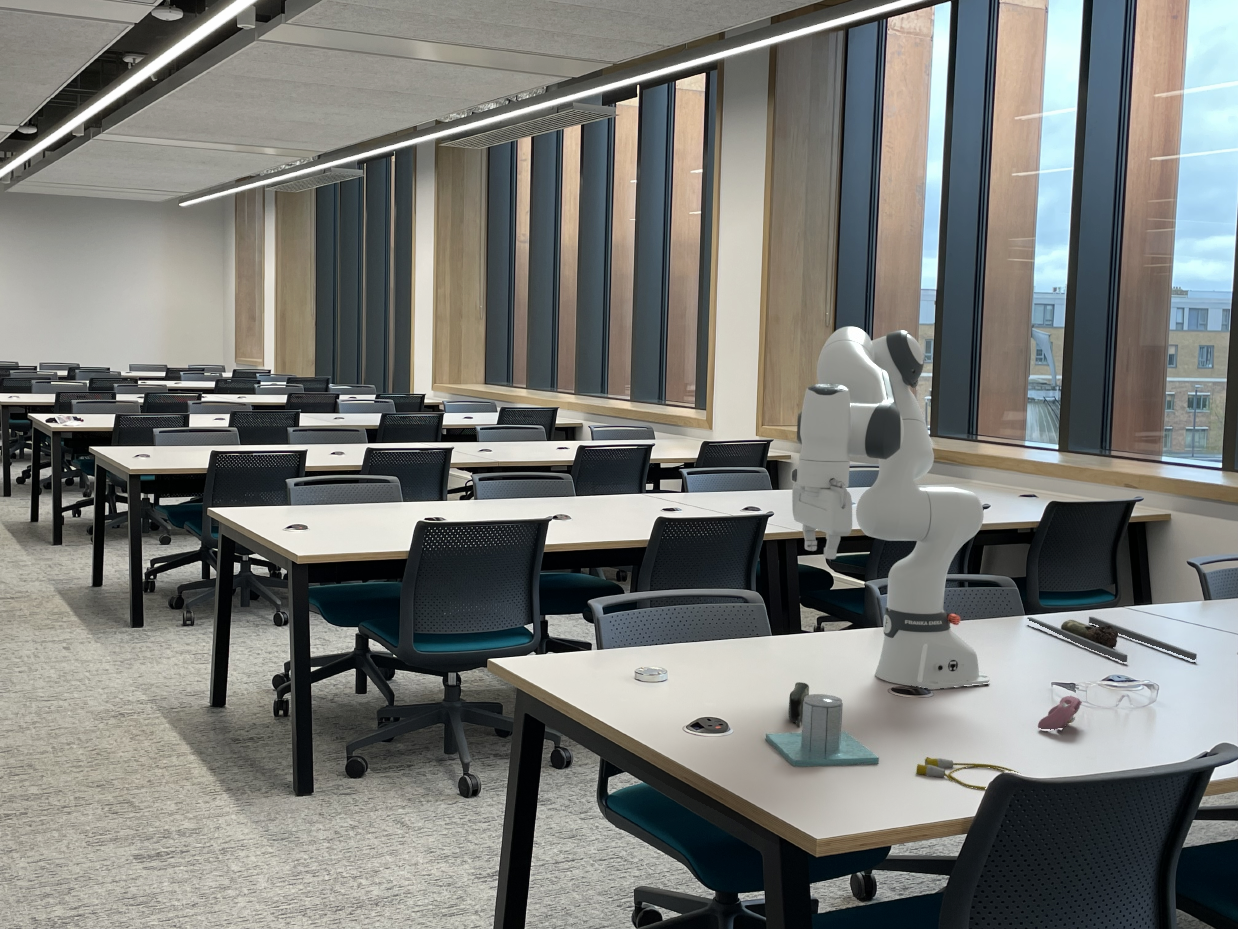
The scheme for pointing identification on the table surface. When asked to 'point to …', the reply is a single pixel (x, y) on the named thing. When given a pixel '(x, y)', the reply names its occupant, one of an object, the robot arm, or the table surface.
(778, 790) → the table surface
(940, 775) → the yellow thin looped cord
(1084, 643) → the pipe rail left
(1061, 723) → the mauve lumpy piece
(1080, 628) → the olive brown elongated piece
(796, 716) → the mobile phone
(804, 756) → the flat teal square plate
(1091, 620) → the pipe rail right
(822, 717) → the tabbed metal cylinder
